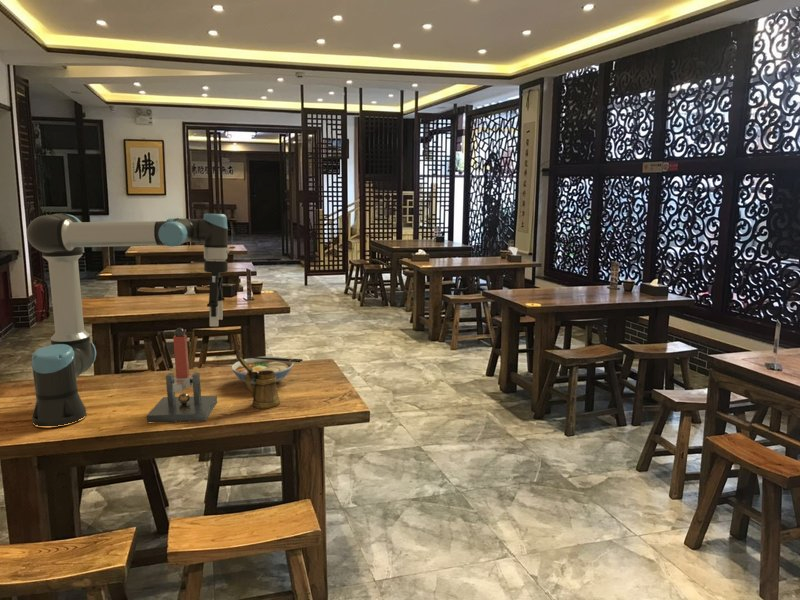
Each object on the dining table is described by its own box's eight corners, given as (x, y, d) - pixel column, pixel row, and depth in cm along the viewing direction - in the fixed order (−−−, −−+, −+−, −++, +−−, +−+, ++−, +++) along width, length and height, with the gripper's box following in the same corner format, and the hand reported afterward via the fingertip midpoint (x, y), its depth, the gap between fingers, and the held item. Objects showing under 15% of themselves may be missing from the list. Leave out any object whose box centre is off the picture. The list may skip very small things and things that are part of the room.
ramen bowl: (217, 390, 224) (216, 368, 223) (250, 371, 246) (249, 352, 244) (279, 396, 217) (278, 374, 215) (307, 377, 238) (306, 356, 237)
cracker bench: (147, 423, 193) (143, 385, 191) (163, 404, 210) (160, 369, 208) (205, 421, 195) (202, 383, 192) (217, 402, 211) (215, 367, 209)
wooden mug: (239, 402, 211) (236, 351, 208) (279, 398, 215) (276, 348, 211) (239, 411, 203) (236, 358, 200) (281, 407, 206) (278, 355, 203)
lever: (168, 392, 196) (163, 333, 192) (175, 384, 204) (171, 327, 200) (187, 392, 196) (182, 332, 193) (194, 383, 204) (189, 326, 201)
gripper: (223, 263, 194) (224, 329, 197) (230, 257, 218) (231, 316, 221) (199, 262, 192) (199, 329, 195) (208, 257, 217) (209, 316, 220)
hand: (216, 322), depth 208 cm, fingers open, 13 cm apart
